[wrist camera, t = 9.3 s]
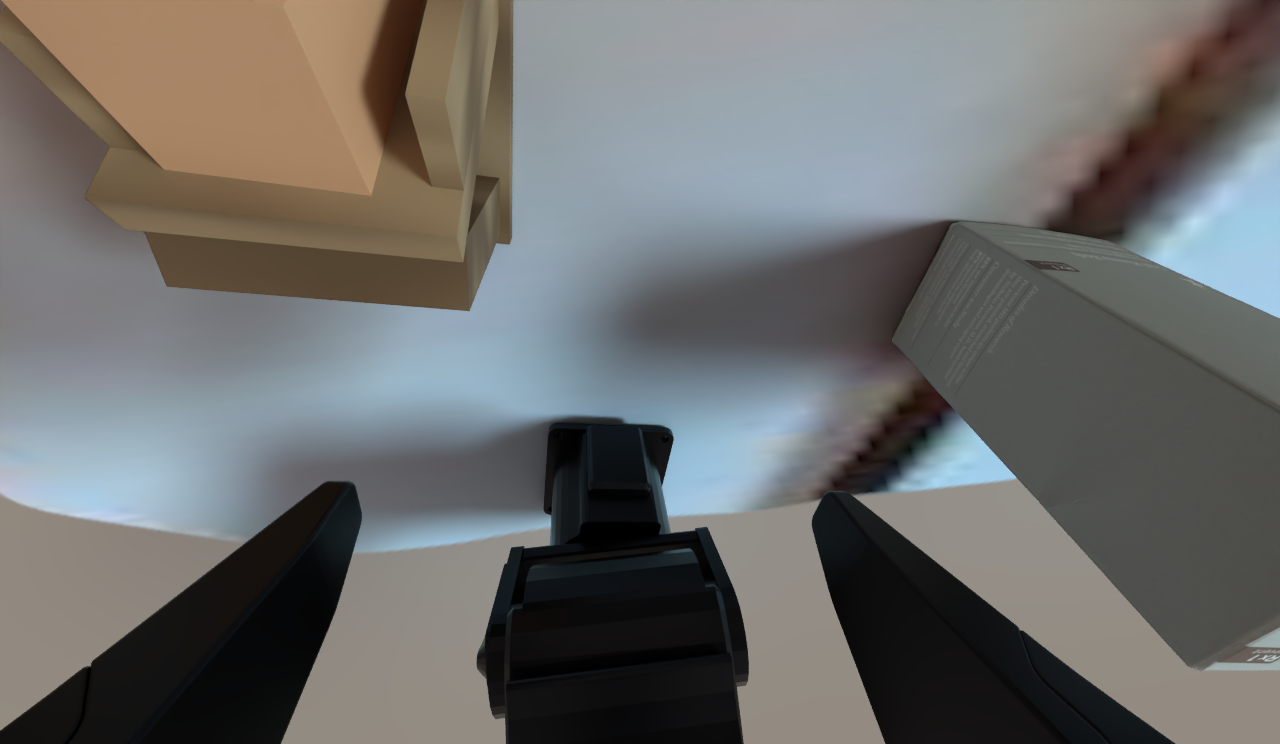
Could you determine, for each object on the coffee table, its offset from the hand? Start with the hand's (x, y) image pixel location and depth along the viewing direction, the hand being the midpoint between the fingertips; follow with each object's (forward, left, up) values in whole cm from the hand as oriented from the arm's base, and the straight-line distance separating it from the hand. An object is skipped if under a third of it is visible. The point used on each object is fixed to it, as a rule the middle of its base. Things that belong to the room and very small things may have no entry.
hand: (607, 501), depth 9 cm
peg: (+6, +7, -9) cm, 13 cm away
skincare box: (0, -19, -13) cm, 23 cm away
